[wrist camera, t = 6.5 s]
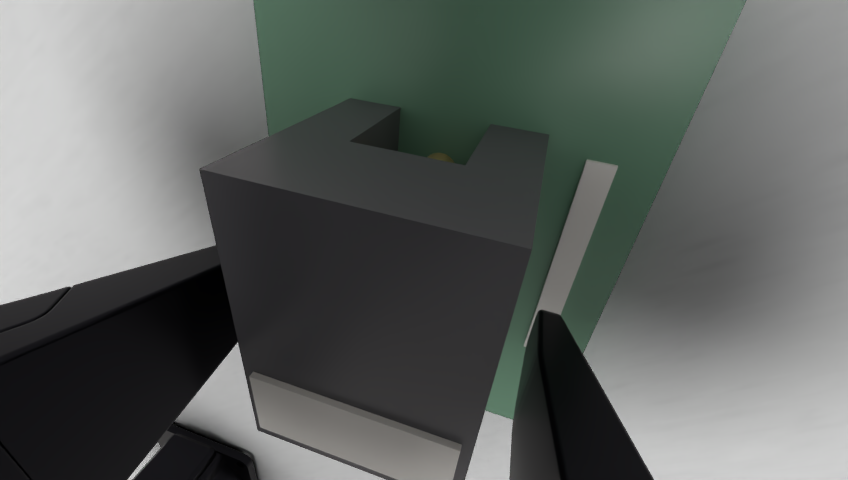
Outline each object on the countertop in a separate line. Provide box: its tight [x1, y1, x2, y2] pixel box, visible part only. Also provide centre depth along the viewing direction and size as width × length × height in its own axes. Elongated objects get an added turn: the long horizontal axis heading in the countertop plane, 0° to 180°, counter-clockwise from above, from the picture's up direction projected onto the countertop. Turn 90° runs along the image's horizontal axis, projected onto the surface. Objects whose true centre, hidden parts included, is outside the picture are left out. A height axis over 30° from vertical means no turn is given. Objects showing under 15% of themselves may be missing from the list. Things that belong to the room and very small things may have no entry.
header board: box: [253, 0, 746, 419], centre depth 10 cm, size 12×9×3 cm
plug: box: [200, 98, 549, 480], centre depth 8 cm, size 6×4×5 cm
